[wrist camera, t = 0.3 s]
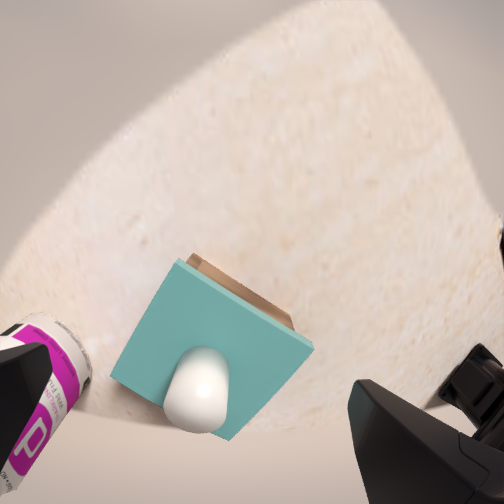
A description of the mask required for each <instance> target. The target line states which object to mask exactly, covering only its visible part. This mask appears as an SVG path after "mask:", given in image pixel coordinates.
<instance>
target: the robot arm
mask: <svg viewBox="0 0 504 504" xmlns="http://www.w3.org/2000/svg"><path fill="white" fill-rule="evenodd" d="M502 367H503V365H502V364H501V363H500V362H499V361H498V360H497V359H496V358H495V357H494V356H493V355H492V354H491V353H490V352H489V351H488V350H487V349H486V348H485V347H484V346H483V345H482V344H481V343H479V344H477V345H476V347H475V348H474V349H473V351H472V352H471V353H470V355H469V356H468V357H467V359H466V360H465V361H464V363H463V364H462V365H461V366H460V368H459V369H458V370H457V371H456V373H455V374H454V375H453V376H452V378H451V379H450V380H449V381H448V382H447V383H446V385H445V386H444V387H443V388H442V389H441V390H440V392H439V394H438V395H439V397H440V398H441V399H443V400H445V401H446V402H448V403H450V404H451V405H453V406H455V407H457V408H458V409H460V410H462V411H463V412H464V414H465V415H466V416H467V417H468V419H469V420H470V421H471V422H472V423H473V425H474V426H475V427H476V428H477V431H476V433H474V435H473V436H472V437H469V436H467V435H465V434H463V433H462V432H459V431H458V430H456V429H454V428H452V427H451V426H449V425H447V424H445V423H443V422H442V421H440V420H438V419H436V418H435V417H433V416H431V415H429V414H427V413H426V412H424V411H422V410H421V409H419V408H417V407H415V406H414V405H412V404H410V403H409V402H407V401H405V400H403V399H402V398H400V397H398V396H397V395H395V394H393V393H392V392H390V391H388V390H387V389H385V388H383V387H382V386H380V385H378V384H377V383H375V382H373V381H372V380H370V379H363V380H356V381H355V383H354V385H353V388H352V392H351V395H350V398H349V401H348V415H349V420H350V426H351V432H352V438H353V445H354V450H355V455H356V459H357V462H358V466H359V469H360V472H361V476H362V479H363V483H364V486H365V490H366V493H367V497H368V501H369V504H504V369H503V368H502ZM52 372H53V366H52V362H51V357H50V353H49V349H48V347H47V345H46V344H43V343H40V342H32V343H28V344H24V345H20V346H16V347H12V348H8V349H4V350H0V473H1V471H2V469H3V467H4V465H5V463H6V461H7V460H8V458H9V456H10V454H11V452H12V450H13V448H14V446H15V445H16V443H17V441H18V439H19V437H20V435H21V434H22V432H23V430H24V428H25V427H26V425H27V423H28V421H29V420H30V418H31V416H32V415H33V413H34V411H35V409H36V407H37V405H38V403H39V401H40V399H41V396H42V394H43V392H44V390H45V388H46V386H47V384H48V382H49V380H50V378H51V376H52Z"/></svg>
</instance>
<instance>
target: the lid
mask: <svg viewBox="0 0 504 504" xmlns="http://www.w3.org/2000/svg"><path fill="white" fill-rule="evenodd" d="M313 351H314V347H313V345H312V342H311V341H310V340H308V339H306V338H305V337H303V336H301V335H300V334H298V333H296V332H295V331H293V330H291V329H290V328H288V327H286V326H285V325H283V324H281V323H280V322H278V321H276V320H275V319H273V318H272V317H270V316H268V315H267V314H265V313H263V312H262V311H260V310H259V309H257V308H255V307H254V306H252V305H251V304H249V303H247V302H246V301H244V300H243V299H241V298H239V297H238V296H236V295H235V294H233V293H232V292H230V291H228V290H227V289H225V288H224V287H222V286H221V285H219V284H218V283H216V282H214V281H213V280H211V279H210V278H208V277H207V276H205V275H204V274H202V273H201V272H199V271H198V270H196V269H194V268H193V267H191V266H190V265H188V264H187V263H185V262H184V261H182V260H181V259H178V260H177V261H176V262H175V263H174V265H173V266H172V268H171V270H170V271H169V273H168V275H167V276H166V278H165V280H164V281H163V283H162V285H161V286H160V288H159V290H158V291H157V293H156V295H155V296H154V298H153V300H152V301H151V303H150V305H149V306H148V308H147V310H146V312H145V313H144V315H143V317H142V319H141V320H140V322H139V324H138V325H137V327H136V329H135V331H134V332H133V334H132V336H131V338H130V340H129V341H128V343H127V345H126V347H125V349H124V350H123V352H122V354H121V356H120V358H119V359H118V361H117V363H116V365H115V367H114V369H113V371H112V372H111V374H110V377H112V378H114V379H115V380H117V381H118V382H120V383H121V384H123V385H124V386H126V387H128V388H129V389H131V390H132V391H134V392H136V393H137V394H139V395H141V396H142V397H144V398H146V399H147V400H149V401H151V402H153V403H154V404H156V405H158V406H160V407H161V408H163V409H164V412H165V415H166V417H167V418H168V419H169V421H170V422H171V423H173V424H174V425H175V426H177V427H178V428H180V429H182V430H185V431H188V432H192V433H208V432H210V433H212V434H214V435H217V436H219V437H221V438H223V439H226V440H228V441H229V440H230V439H231V438H233V436H235V435H236V434H237V433H238V432H239V431H240V430H241V429H242V428H243V427H244V426H245V425H246V424H247V423H248V422H249V421H250V420H251V419H252V418H253V417H254V416H255V415H256V414H257V413H258V412H259V410H260V409H261V408H262V407H263V406H264V405H265V404H266V403H267V402H268V401H269V400H270V399H271V398H272V397H273V396H274V395H275V394H276V393H277V391H278V390H279V389H280V388H281V387H282V386H283V385H284V384H285V383H286V382H287V380H288V379H289V378H290V377H291V376H292V375H293V374H294V373H295V372H296V370H297V369H298V368H299V367H300V366H301V365H302V364H303V362H304V361H305V360H306V359H307V358H308V357H309V355H310V354H311V353H312V352H313Z"/></svg>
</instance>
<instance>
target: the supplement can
mask: <svg viewBox="0 0 504 504" xmlns="http://www.w3.org/2000/svg"><path fill="white" fill-rule="evenodd" d="M32 342H40V343H43V344H46V345H47V347H48V349H49V353H50V357H51V362H52V366H53V372H52V376H51V378H50V380H49V382H48V384H47V386H46V388H45V390H44V392H43V394H42V396H41V399H40V401H39V403H38V405H37V407H36V409H35V411H34V413H33V415H32V416H31V418H30V420H29V421H28V423H27V425H26V427H25V428H24V430H23V432H22V434H21V435H20V437H19V439H18V441H17V443H16V445H15V446H14V448H13V450H12V452H11V454H10V456H9V458H8V460H7V461H6V463H5V465H4V467H3V469H2V471H1V473H0V496H1V494H4V493H8V492H11V491H13V490H16V489H17V488H18V486H19V485H20V483H21V482H22V480H23V478H24V477H25V475H26V474H27V472H28V471H29V469H30V468H31V466H32V465H33V463H34V462H35V460H36V459H37V457H38V455H39V454H40V453H41V451H42V450H43V448H44V447H45V445H46V444H47V442H48V441H49V439H50V438H51V436H52V435H53V433H54V432H55V431H56V429H57V428H58V426H59V425H60V423H61V422H62V421H63V419H64V417H65V416H66V415H67V413H68V412H69V411H70V409H71V408H72V406H73V405H74V404H75V402H76V401H77V399H78V398H79V397H80V395H81V394H82V393H83V391H84V390H85V388H86V387H87V386H88V384H89V383H90V380H91V372H92V369H91V364H90V360H89V356H88V354H87V352H86V350H85V348H84V346H83V344H82V342H81V341H80V339H79V338H78V336H77V335H76V334H75V333H74V332H73V331H72V329H71V328H70V327H68V326H67V325H66V324H64V323H63V322H61V321H60V320H59V319H57V318H56V317H54V316H51V315H48V314H46V313H43V312H41V313H31V314H29V315H28V316H27V317H25V318H24V319H22V320H21V321H19V322H18V323H16V324H15V325H13V326H12V327H11V328H9V329H8V330H6V331H5V332H4V333H2V334H1V335H0V350H4V349H8V348H12V347H16V346H20V345H24V344H28V343H32Z"/></svg>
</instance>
